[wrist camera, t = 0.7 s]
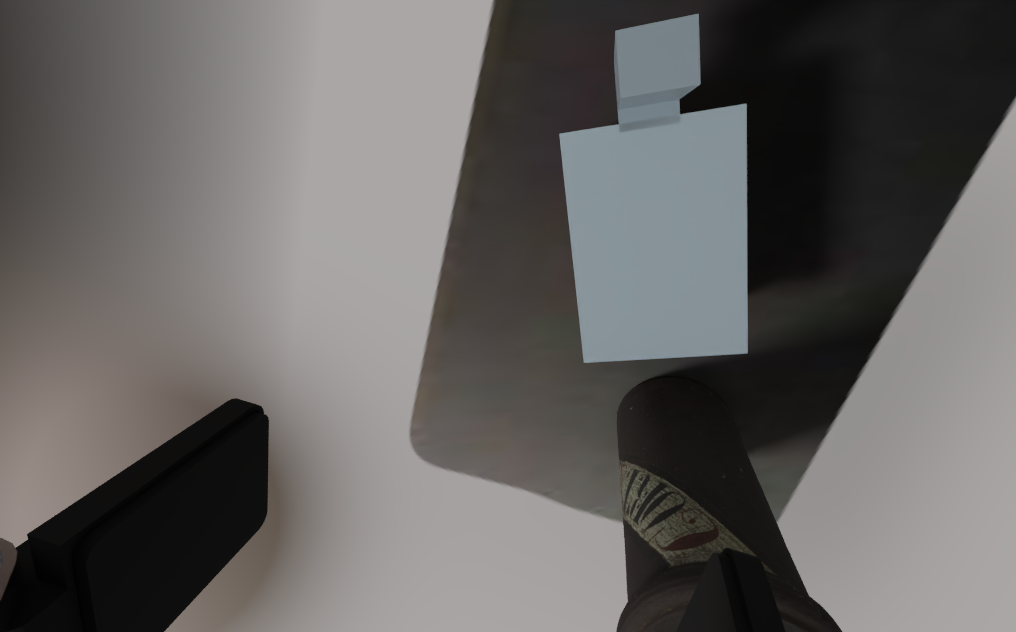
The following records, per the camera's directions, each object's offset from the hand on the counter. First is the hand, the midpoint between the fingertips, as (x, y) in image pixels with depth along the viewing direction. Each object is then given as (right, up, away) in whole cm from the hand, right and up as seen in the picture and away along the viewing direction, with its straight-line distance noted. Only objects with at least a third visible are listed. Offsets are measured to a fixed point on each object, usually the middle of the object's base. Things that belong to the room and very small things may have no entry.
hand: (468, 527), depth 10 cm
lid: (+9, +10, +18) cm, 23 cm away
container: (+13, -4, +28) cm, 31 cm away
